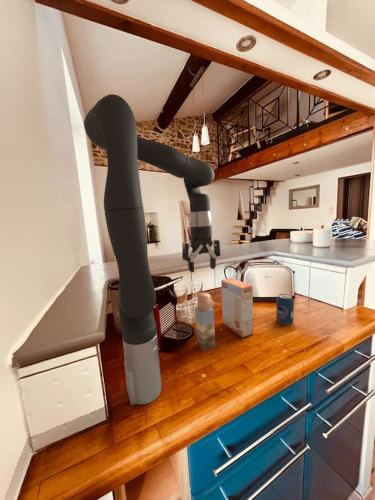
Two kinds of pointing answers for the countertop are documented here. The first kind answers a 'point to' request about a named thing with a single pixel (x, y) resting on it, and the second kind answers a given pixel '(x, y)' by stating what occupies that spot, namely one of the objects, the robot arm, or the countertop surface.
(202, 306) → the pink rounded cylinder
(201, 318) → the tower top
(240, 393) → the countertop surface
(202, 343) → the tower base
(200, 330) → the tower mid
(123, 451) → the countertop surface
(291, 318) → the soda can
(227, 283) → the cracker box
